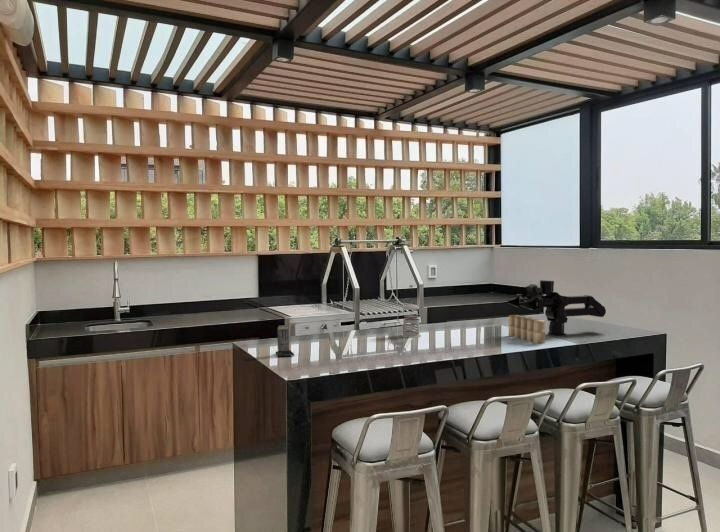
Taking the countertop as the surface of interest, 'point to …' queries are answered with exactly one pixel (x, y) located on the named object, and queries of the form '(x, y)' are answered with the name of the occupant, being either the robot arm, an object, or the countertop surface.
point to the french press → (412, 320)
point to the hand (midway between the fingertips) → (513, 303)
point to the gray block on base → (283, 341)
